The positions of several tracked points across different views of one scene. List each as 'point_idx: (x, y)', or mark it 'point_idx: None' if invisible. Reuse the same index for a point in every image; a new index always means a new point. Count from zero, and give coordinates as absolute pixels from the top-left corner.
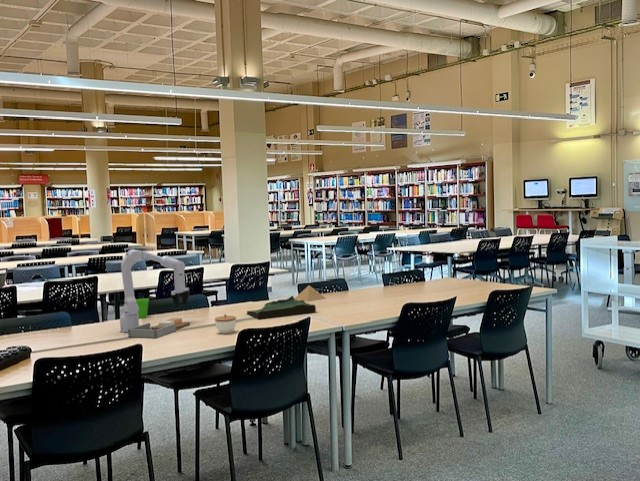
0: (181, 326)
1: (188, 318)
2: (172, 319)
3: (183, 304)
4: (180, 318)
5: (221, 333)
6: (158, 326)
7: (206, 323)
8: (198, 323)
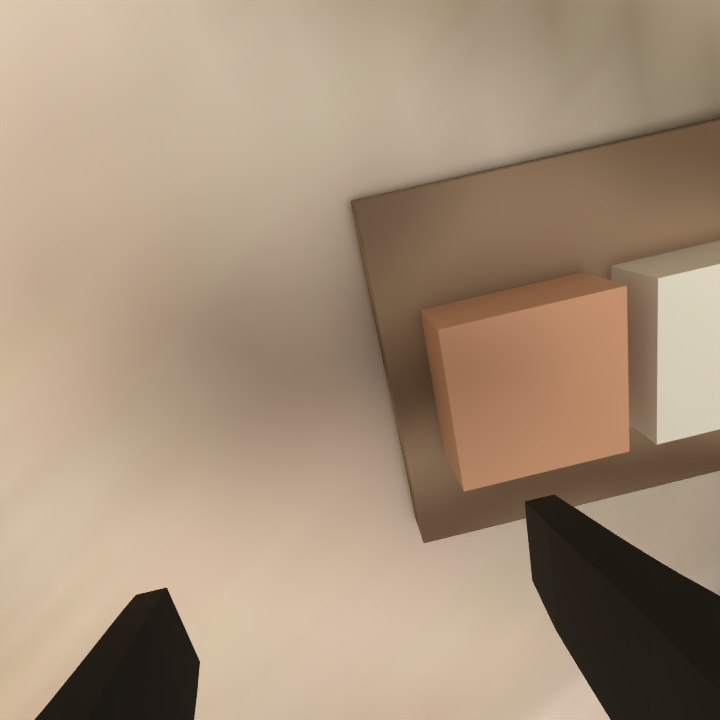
0: (587, 149)
1: (4, 594)
2: (563, 405)
3: (196, 654)
4: (452, 346)
5: None
6: None
7: (105, 3)
8: (181, 166)
